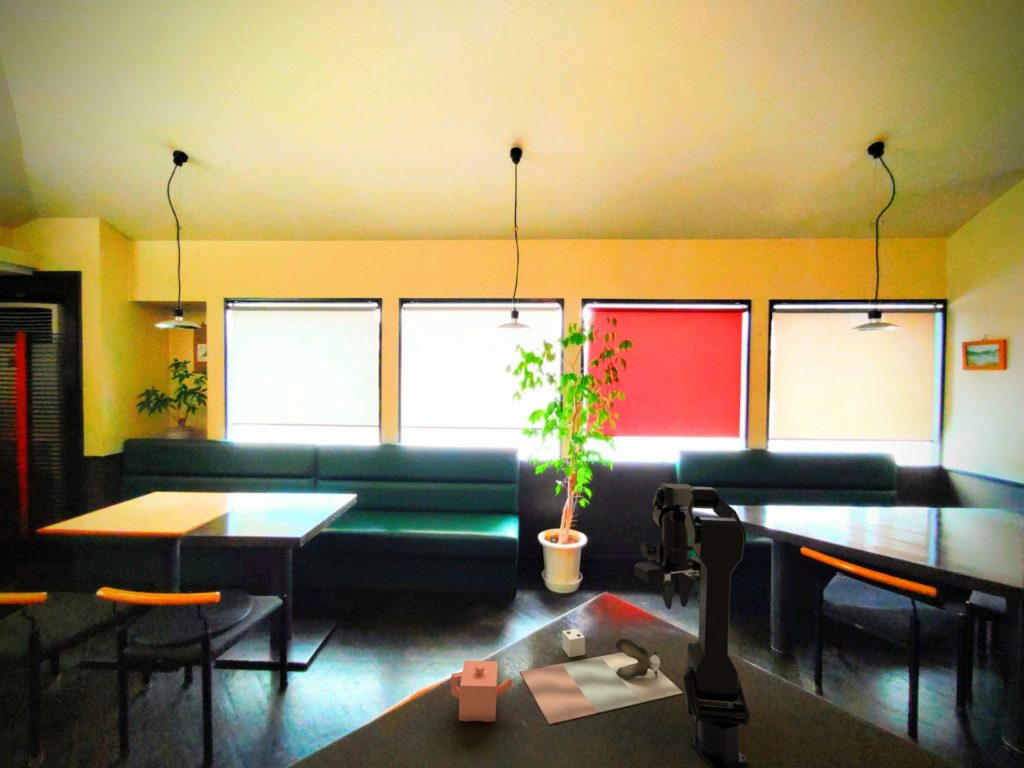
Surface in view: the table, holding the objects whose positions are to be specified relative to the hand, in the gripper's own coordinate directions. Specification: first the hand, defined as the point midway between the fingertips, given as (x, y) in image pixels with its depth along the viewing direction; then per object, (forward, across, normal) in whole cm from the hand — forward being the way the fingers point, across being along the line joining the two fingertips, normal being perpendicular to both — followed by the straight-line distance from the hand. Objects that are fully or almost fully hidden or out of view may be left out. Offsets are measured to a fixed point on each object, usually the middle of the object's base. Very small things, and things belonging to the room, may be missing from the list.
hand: (675, 607), depth 95 cm
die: (+13, +20, -12) cm, 27 cm away
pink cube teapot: (+13, +46, +1) cm, 48 cm away
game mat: (+13, +20, 0) cm, 24 cm away
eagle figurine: (+13, +10, 0) cm, 17 cm away
